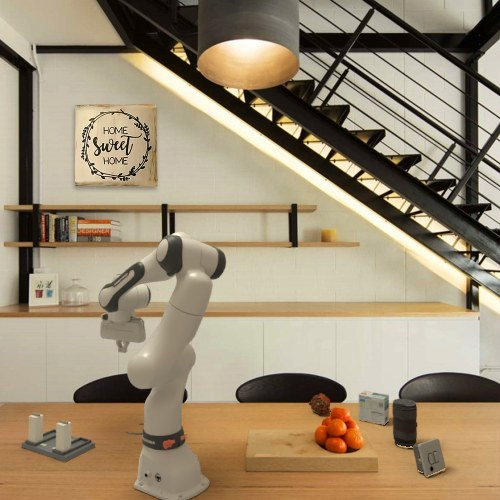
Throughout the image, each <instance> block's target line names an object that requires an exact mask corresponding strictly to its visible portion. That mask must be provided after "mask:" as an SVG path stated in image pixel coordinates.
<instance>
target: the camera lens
mask: <svg viewBox="0 0 500 500" xmlns="http://www.w3.org/2000/svg"><path fill="white" fill-rule="evenodd" d="M391 405H392V435H393V440H394V444H395V443H396V444H398V445H401V446H406V447H410V446H413V445H416V443H417V436H418V431H417V428H418V422H417V418H418V407H417V402H416V401H414V400H412V399H408V398H396V399H393V401H392V404H391ZM396 444H395V445H396Z"/></svg>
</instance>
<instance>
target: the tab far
mask: <svg viewBox="0 0 500 500" xmlns="http://www.w3.org/2000/svg"><path fill="white" fill-rule="evenodd" d="M43 433H44V414H41V413H38V412H31V415H29V416H28V436H27V437H28V438H27V440H28V441H30V442H33V443H37V442H39V441H42V440H43Z"/></svg>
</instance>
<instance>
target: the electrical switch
mask: <svg viewBox="0 0 500 500" xmlns="http://www.w3.org/2000/svg"><path fill="white" fill-rule="evenodd" d="M412 447H413V448H412V450H413V455H414V459H415V463H416V469H417V471H418V470H419V471H421V472H423V473H424V474H423V475H426V476H428V475H431V474H433V473H435V472H438V471H440V470H442V469H444V468H446V469H447V466H446V462H445V459H444V454H443V451H442V446H441V442H440V439H439V438H435V437H434V438H433V439H430V440H429V439H428V440H426V441H425V440H424V441H422V442H419V443H418V444H416V443H415V445H413V446H412Z"/></svg>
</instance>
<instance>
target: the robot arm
mask: <svg viewBox="0 0 500 500" xmlns="http://www.w3.org/2000/svg"><path fill="white" fill-rule="evenodd" d="M226 267H227V257H226V254H225V252H224V251H223V250H221V249H220V248H219V247H216V246H213V245H209V244H207V243H204V242H201V241H199V240H198V239H193V238H192V237H191V235H190V234H188V233H187V232H183V231H176V232H174V233H172V234H169V235H168V234H167V235H165V236H164V237H162V239H160V241H159V243H158V245H157V246H156V247H155V249H154V250H153V251H152V252H151V253H149V254H148V255H147V256H145V257H143V258H142V259H140V260H139V261H137V262H135V263H133V264H132V265H130V266H129V267H128V268H127V269H126V270H125V271H123V272H122V273H118V274H115V275H114V276H113V277H112V281H111V282H110V283H106V284H105V285H104V286H102V288H101V290H100V291H99V292H98V293H99V294H98V303H99V305H100V307H101V308H102V309H103V310H104V311H106V312H105V313H102V314H101V315H100V319H101V322H100V329H99V330H100V331H99V334H100V337H101V339H104V340H111V341H115V345H116V347H117V352H118V353H123V354H125V353H128V347H129V345H130V343H136V344H139V343H143V342H145V341H146V338H147V337H146V336H147V335H146V328H145V327H146V326H145V320H144V319H142V317H137V316H136V310H141V309H144V308H147V307H149V304H150V302H151V300H152V299H151V298H152V292H151V289H150V288H149V286H148V285H147V284H149V283H157V282H165V281H169V280H171V279H173V278H174V277H176V283H175V287H174V289H173V291H172V293H171V296H170V298H169V300H168V303H167V305H166V307H165V309H164V312H163V315H162V317H161V319H160V321H159V323H158V325H157V327H156V328H155V329H154V330H153V332H152V334H151V336H150V337H149V338H148V339H147V341H146V342H145V343H144V345H143V347H142V348H141V349H140V350H139V351H138V352H137V353H136V354H135V355H134V356H132V357H131V359H130V360H129V361H128V363H127V368H126V374H127V377H128V380H129V382H130V383H131V385H132V386H133V387H135V388H137V389H140V390H147V389H151V390H150V393H149V395H148V396H147V398H146V400H145V402H144V404H143V405H144V406H143V408H144V410H143V423H144V425H143V428H142V432H141V433H142V435H141V444H142V445H143V446H142V449H141V452H140V454H139V459H138V465H137V466H138V468H137V477H136V478H137V479H136V480H135V482H134V484H133V488H134V489H135V490H138V491H140V492H143V493H145V494H147V495H150V496H152V497H155V498H157V499H159V500H190V499H191V498H194V497H195V496H198V495H200V494H201V493H203V492H204V491H206V490H207V488H208V487H209V486H210V480H209V479H208V478H207V477H206V476H205V475H203V474H202V469H201V462H200V460H199V456H198V454H196V453H193V451H192V449H191V448H190V446H189V445H188V444H187V442H186V440H187V439H188V434H185V430H184V428H183V427H184V426H183V425H182V423H183V422H182V417H183V400H184V394H185V390H186V385H187V383H188V378H189V375H190V373H191V371H192V369H193V367H194V366H195V363H196V360H197V356H196V352H195V349H194V348H193V345H192V344H190V343H191V342H192V341H193V340H194V338H195V337H196V335H197V332H198V330H199V327H200V325H201V324H202V321H203V319H204V316H205V313H206V311H207V309H208V306H209V303H210V300H211V296H212V292H213V281H214V280H217V279H219V278H220V277H221V276H222V275H223V274H224V272H225V270H226ZM212 280H213V281H212Z"/></svg>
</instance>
